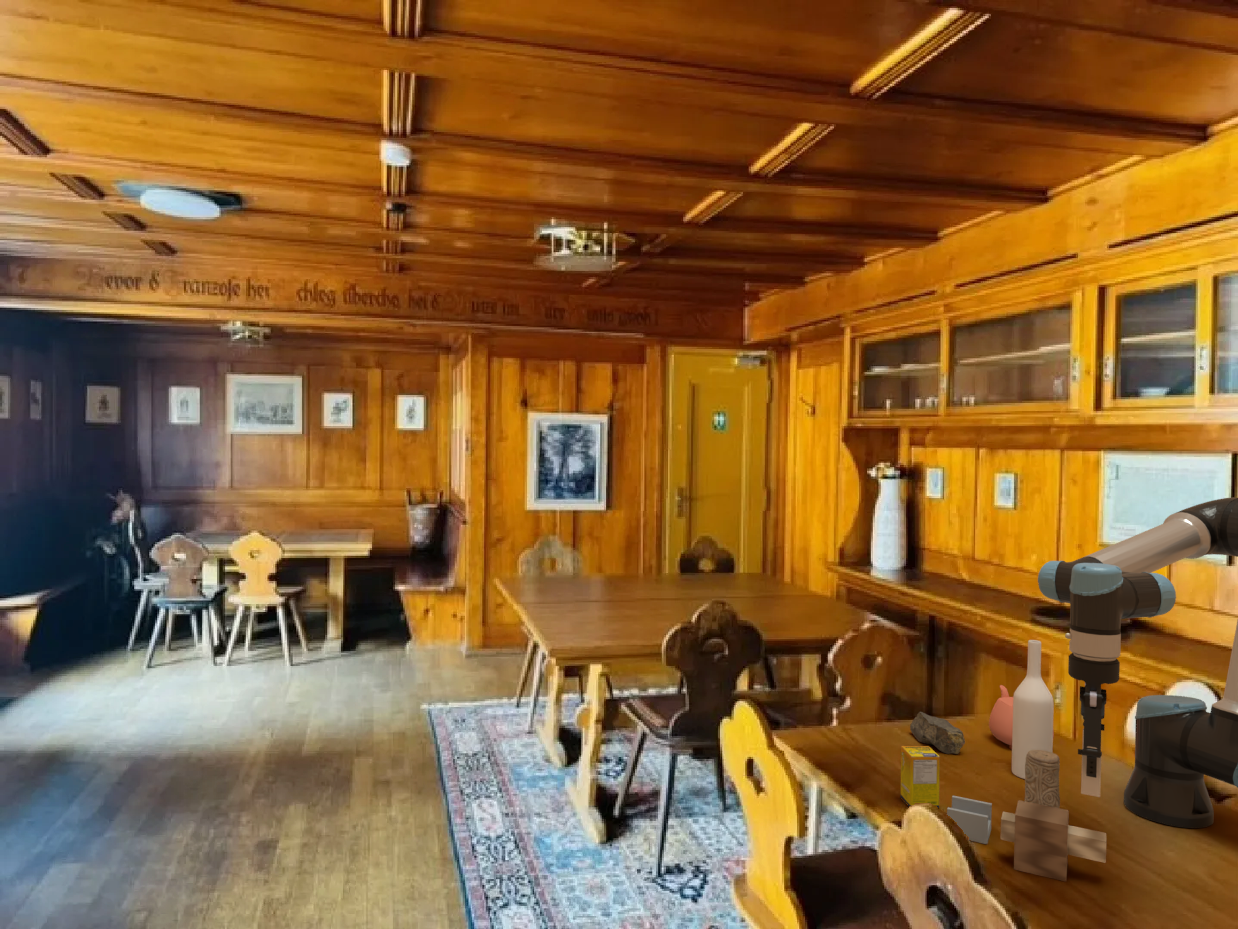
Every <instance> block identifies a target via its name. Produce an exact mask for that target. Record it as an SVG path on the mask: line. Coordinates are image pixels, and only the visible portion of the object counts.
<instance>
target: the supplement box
mask: <svg viewBox="0 0 1238 929" xmlns="http://www.w3.org/2000/svg"><path fill="white" fill-rule="evenodd" d="M900 747H901V749H900V752H901V753H900V799H901V798H902V799H903V800H904V801H905V802H906V803H907V804H908V806H911V805H914V804H915V803H931V804H933V805H935V806H937V807H938V808H939V809H940V775H941V774H940V767H941V766H940V763H941V761H940V760H941V756H940V755H939V754H938V753H937V752H935V750H933V748H932V747H930V745H921V746H919V745H917V746H915V745H907V746H905V745H901V746H900ZM902 799H901V800H902ZM903 800H902V801H903ZM904 801H903V802H904ZM905 802H904V803H905ZM906 803H905V804H906ZM908 806H907V807H908Z"/></svg>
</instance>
